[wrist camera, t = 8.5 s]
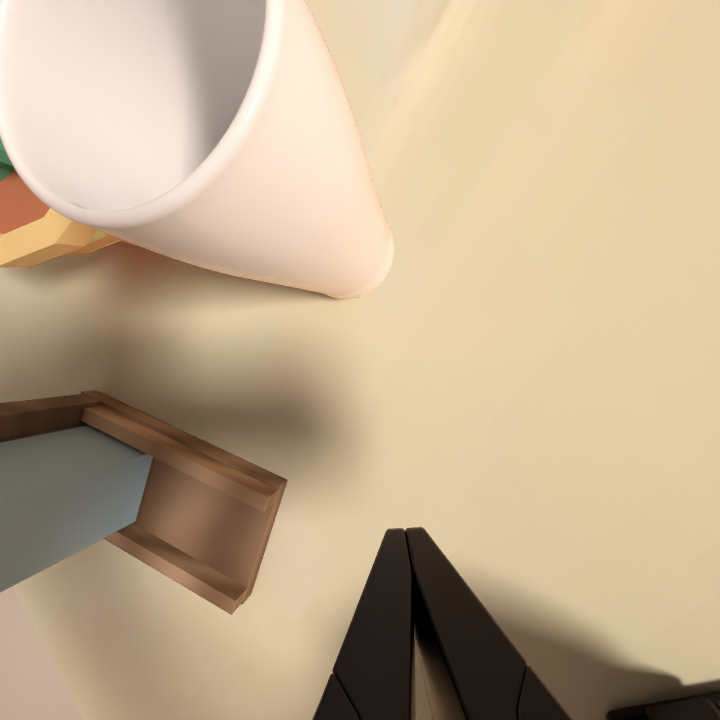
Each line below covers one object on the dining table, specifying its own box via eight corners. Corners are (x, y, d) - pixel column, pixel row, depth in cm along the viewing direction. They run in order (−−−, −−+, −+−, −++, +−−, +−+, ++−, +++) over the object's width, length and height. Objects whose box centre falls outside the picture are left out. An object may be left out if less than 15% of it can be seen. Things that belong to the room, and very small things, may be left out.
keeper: (156, 451, 23) (-79, 528, 13) (136, 523, 24) (-104, 651, 14) (96, 421, 25) (-160, 470, 14) (78, 490, 25) (-181, 585, 15)
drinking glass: (327, 334, 21) (56, 297, 7) (278, 236, 22) (-59, 17, 8) (430, 275, 20) (357, 70, 5) (375, 171, 20) (176, -262, 6)
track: (287, 480, 22) (178, 561, 14) (251, 594, 23) (127, 739, 14) (95, 390, 26) (-85, 409, 17) (70, 490, 27) (-114, 556, 18)
